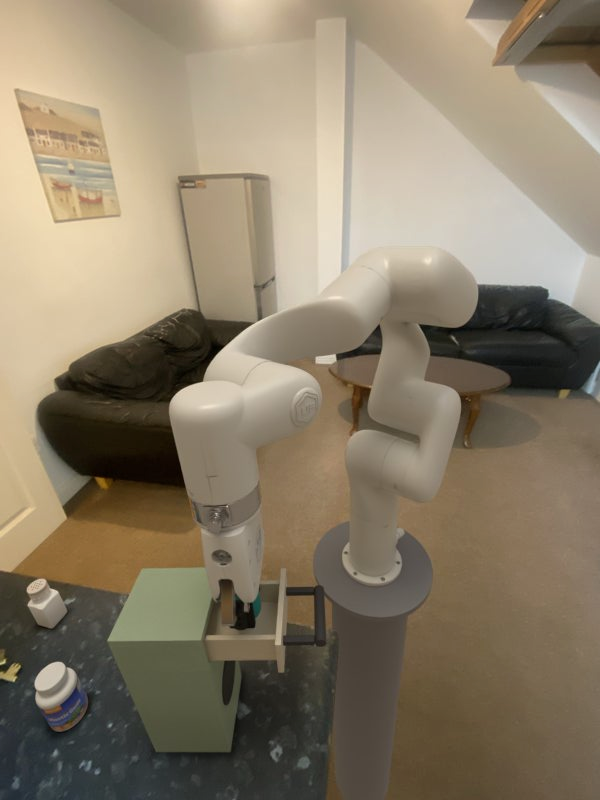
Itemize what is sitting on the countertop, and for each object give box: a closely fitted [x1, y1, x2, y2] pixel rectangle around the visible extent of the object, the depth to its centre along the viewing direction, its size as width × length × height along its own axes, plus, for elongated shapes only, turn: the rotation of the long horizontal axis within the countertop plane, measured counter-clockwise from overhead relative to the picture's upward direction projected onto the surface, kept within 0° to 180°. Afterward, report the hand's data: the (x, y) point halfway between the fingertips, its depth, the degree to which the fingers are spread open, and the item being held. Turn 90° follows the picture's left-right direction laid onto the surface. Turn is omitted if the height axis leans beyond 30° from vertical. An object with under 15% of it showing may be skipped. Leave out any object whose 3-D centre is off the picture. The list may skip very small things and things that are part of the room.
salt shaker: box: [26, 578, 68, 629], centre depth 71 cm, size 4×4×10 cm
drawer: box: [203, 567, 327, 674], centre depth 48 cm, size 16×10×5 cm, turn 89°
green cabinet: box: [106, 566, 242, 753], centre depth 52 cm, size 11×10×26 cm
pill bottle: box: [34, 661, 89, 732], centre depth 57 cm, size 5×5×10 cm
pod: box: [235, 591, 261, 619], centre depth 46 cm, size 4×4×4 cm
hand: (245, 607), depth 47 cm, fingers closed on pod, 4 cm apart
